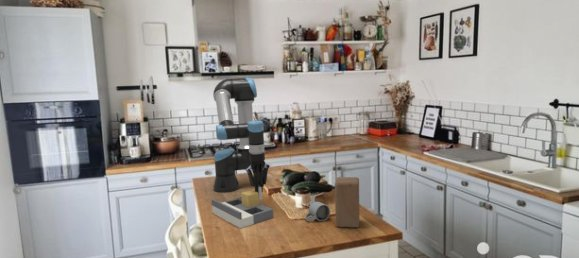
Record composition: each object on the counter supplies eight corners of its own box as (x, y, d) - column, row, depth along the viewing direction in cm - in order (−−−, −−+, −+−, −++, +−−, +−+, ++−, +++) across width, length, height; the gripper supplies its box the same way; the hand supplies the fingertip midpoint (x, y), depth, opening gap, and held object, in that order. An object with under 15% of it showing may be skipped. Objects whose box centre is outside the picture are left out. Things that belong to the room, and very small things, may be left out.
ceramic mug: (321, 213, 182) (320, 198, 181) (330, 219, 175) (330, 203, 174) (301, 218, 177) (300, 202, 176) (310, 224, 170) (309, 208, 169)
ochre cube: (252, 201, 191) (251, 190, 190) (259, 204, 186) (258, 192, 185) (241, 204, 187) (241, 192, 186) (248, 207, 183) (247, 195, 182)
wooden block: (359, 228, 164) (358, 183, 161) (335, 227, 166) (334, 182, 163) (359, 219, 173) (359, 176, 170) (337, 218, 175) (336, 176, 172)
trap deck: (243, 204, 200) (242, 191, 199) (273, 217, 180) (272, 203, 179) (212, 213, 189) (211, 199, 188) (240, 228, 169) (239, 213, 168)
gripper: (249, 156, 179) (252, 204, 183) (272, 151, 188) (274, 198, 191) (241, 153, 185) (244, 200, 189) (263, 149, 193) (265, 194, 197)
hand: (259, 199), depth 190 cm, fingers closed
